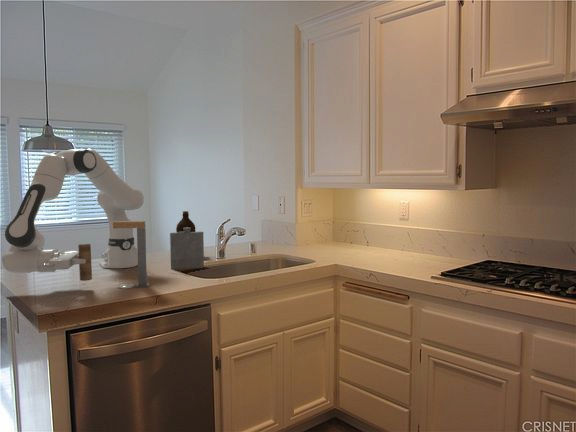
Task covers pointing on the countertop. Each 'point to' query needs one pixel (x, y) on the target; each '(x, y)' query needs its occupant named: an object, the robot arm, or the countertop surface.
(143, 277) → the keeper
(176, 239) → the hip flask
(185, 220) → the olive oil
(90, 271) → the brown tall wooden block
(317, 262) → the countertop surface
